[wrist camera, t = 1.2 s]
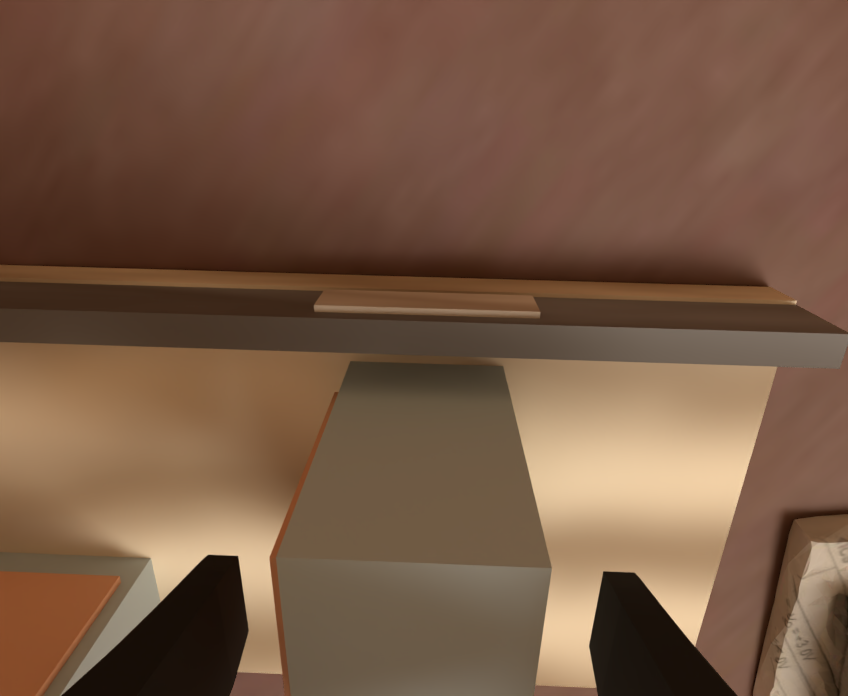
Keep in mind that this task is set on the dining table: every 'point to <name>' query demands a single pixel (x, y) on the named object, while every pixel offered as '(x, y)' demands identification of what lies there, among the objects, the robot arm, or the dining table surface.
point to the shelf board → (323, 375)
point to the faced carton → (66, 616)
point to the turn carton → (413, 542)
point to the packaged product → (809, 614)
